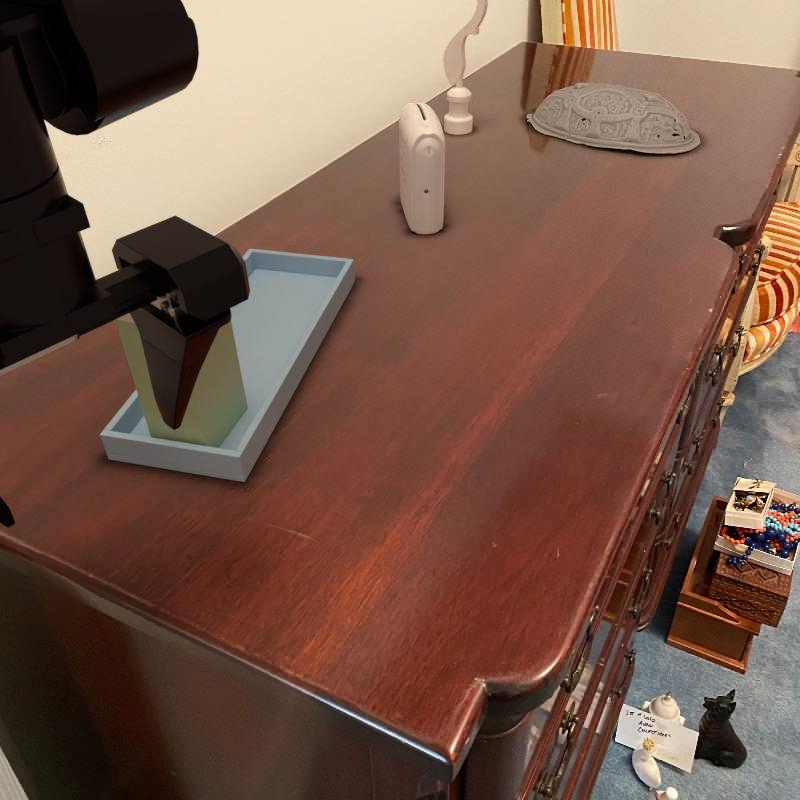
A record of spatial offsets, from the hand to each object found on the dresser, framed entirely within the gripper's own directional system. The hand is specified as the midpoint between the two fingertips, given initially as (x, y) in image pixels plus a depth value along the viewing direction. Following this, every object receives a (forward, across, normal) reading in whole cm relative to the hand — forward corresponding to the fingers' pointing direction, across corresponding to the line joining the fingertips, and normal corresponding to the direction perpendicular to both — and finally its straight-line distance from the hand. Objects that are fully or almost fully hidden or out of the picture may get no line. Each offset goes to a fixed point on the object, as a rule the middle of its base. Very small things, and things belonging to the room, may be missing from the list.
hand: (95, 470), depth 39 cm
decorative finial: (+14, -76, -39) cm, 86 cm away
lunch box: (+12, -12, -12) cm, 21 cm away
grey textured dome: (+14, -90, -23) cm, 94 cm away
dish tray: (+13, -21, -17) cm, 30 cm away
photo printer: (+14, -52, -25) cm, 59 cm away
